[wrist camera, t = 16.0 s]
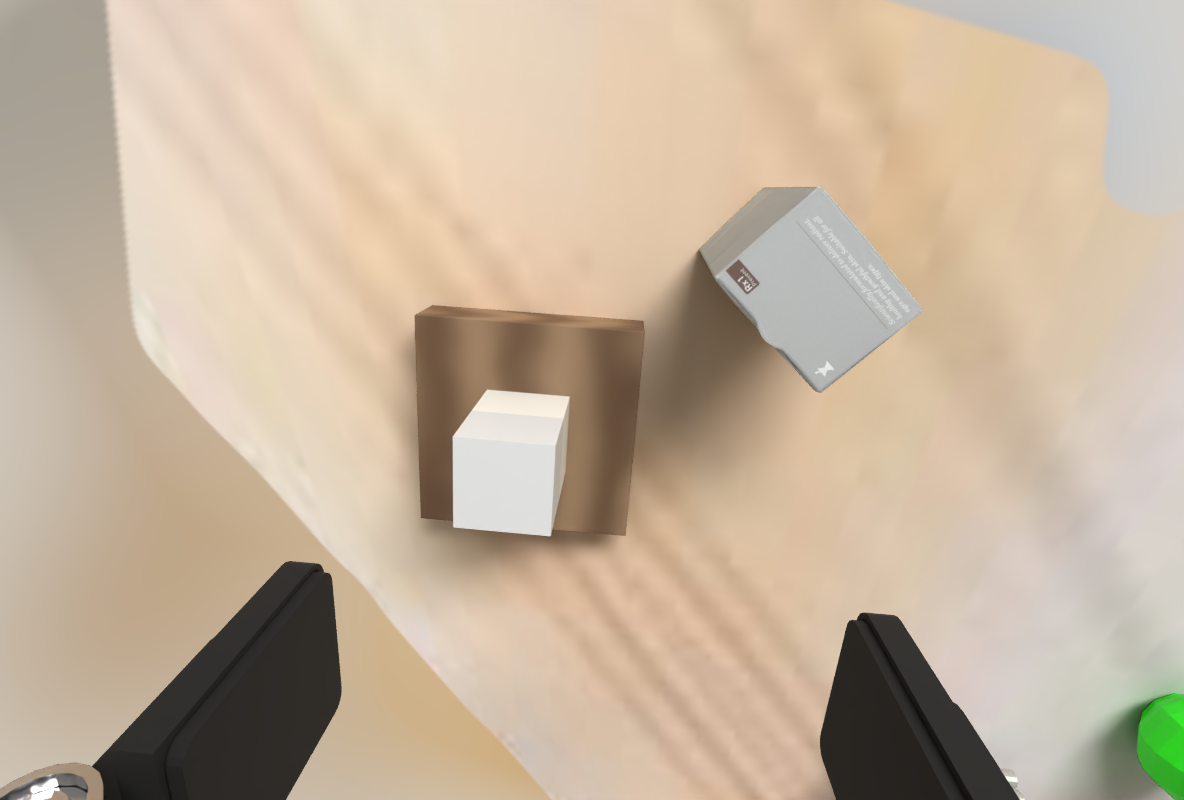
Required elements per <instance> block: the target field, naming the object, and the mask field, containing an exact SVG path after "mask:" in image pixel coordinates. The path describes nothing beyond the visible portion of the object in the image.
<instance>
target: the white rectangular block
mask: <svg viewBox="0 0 1184 800" xmlns="http://www.w3.org/2000/svg"><path fill="white" fill-rule="evenodd" d="M569 404H570V397H569V396H557V395H545V394H533V393H521V392H509V391H498V390H486V392H485V393H484V394H483V396H482V397H481V399H480V400H479V401H478V403H477V404H476V405H475V407H474V408H473V410H472V411H471V412H470V414H469V415H468V416H467V418H466V419H465V420H464V422H463V423H462V425H461V426H460V427H459V429H458V430H457V431H456V433H455V434H454V436H453V527H454V528H465V529H476V530H487V531H498V532H509V533H520V534H531V535H542V536H551V533H552V529H553V524H554V520H555V515H556V511H557V507H558V502H559V498H560V494H561V489H562V485H563V481H564V476H565V470H566V454H567V437H568V420H569Z"/></svg>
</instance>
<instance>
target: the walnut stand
mask: <svg viewBox="0 0 1184 800" xmlns="http://www.w3.org/2000/svg"><path fill="white" fill-rule="evenodd" d="M644 333H645V332H644V323H643V321H636V320H622V319H609V318H595V317H582V316H568V315H555V314H541V313H528V312H514V311H501V310H488V309H474V308H461V307H447V306H434V305H432V306H430V307H429V308H427V309H425V310H423V311H421V312H420V313H418V314H416V315H415V340H416V372H417V405H418V437H419V470H420V502H421V518H426V519H438V520H449V521H453V436H454V434H455V433H456V431H457V430H458V429H459V427H460V426H461V425H462V423H463V422H464V420H465V419H466V418H467V416H468V415H469V414H470V412H471V411H472V410H473V408H474V407H475V405H476V404H477V403H478V401H479V400H480V399H481V397H482V396H483V394H484V393H485V392H486V390H498V391H509V392H521V393H533V394H545V395H557V396H569V397H570V404H569V420H568V437H567V454H566V470H565V476H564V481H563V485H562V489H561V494H560V498H559V502H558V507H557V511H556V515H555V520H554V524H553V530H565V531H577V532H588V533H600V534H611V535H623V536H626V526H627V515H628V504H629V494H630V483H631V472H632V462H633V451H634V440H635V429H636V419H637V408H638V397H639V386H640V376H641V365H642V354H643V344H644Z"/></svg>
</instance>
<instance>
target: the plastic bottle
mask: <svg viewBox="0 0 1184 800" xmlns="http://www.w3.org/2000/svg"><path fill="white" fill-rule="evenodd" d="M1137 756H1138V758H1139V761H1140V763H1141V766H1142V768H1143V769H1144V770H1145V771H1146V772H1147V773H1148V775H1149V776H1150V777H1151V778H1152V779H1153V780H1154V781H1155V782H1156V783H1157V784H1158V785H1159V786H1160V787H1161V788H1162V789H1164V790H1165V791H1166V792H1167V793H1168V794H1169V795H1170V796H1171V797H1172V798H1173V799H1174V800H1184V695H1181V694H1171V695H1168V696H1165V697H1162V698H1159V699H1156V700H1154V701H1153V702H1152V703H1151V704H1150V705H1149V706H1148V707H1147V708H1146V709H1145V710H1144V711H1143V712H1142V713H1141V721H1140V723H1139V729H1138V740H1137Z"/></svg>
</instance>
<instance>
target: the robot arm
mask: <svg viewBox="0 0 1184 800" xmlns="http://www.w3.org/2000/svg"><path fill="white" fill-rule="evenodd" d="M339 665H340V664H339V653H338V642H337V630H336V619H335V607H334V597H333V586H332V577H331V575H330V574H329V573H324V571H323V568H322V566H321V565H320V564H315V563H303V562H293V561H289V562H285V563H284V564H283V565H282V566H281V567H280V568H279V569H278V570H277V571H276V572H275V573H274V574H273V576H271V578H270V579H269V580H268V581H267V582H266V583H265V584H264V585H263V586H262V587H261V588H260V589H259V590H258V591H257V593H256V594H255V595H254V596H253V597H252V598H251V599H250V600H249V601H248V602H247V603H246V604H245V605H244V606H243V608H242V609H241V610H240V611H239V612H238V613H237V614H236V615H235V616H234V617H233V618H232V619H231V620H230V621H229V622H228V624H227V625H226V626H225V627H224V628H223V629H222V630H221V631H220V632H219V633H218V634H217V635H216V636H215V637H214V638H213V639H212V640H210V641H209V642H208V643H207V645H206V646H205V647H204V648H203V649H202V650H201V651H200V652H199V653H198V654H197V655H196V656H195V657H194V658H193V659H192V660H191V662H190V663H189V664H188V665H187V666H186V667H185V668H184V669H183V670H182V671H181V672H180V673H179V674H178V675H177V676H176V678H175V679H174V680H173V681H172V682H171V683H170V684H169V685H168V686H167V687H166V688H165V689H164V690H163V691H162V692H161V693H160V695H159V696H158V697H157V698H156V699H155V700H154V701H153V702H152V703H151V704H150V705H149V706H148V707H147V708H146V710H144V712H143V713H142V714H141V715H140V716H139V717H138V718H137V719H136V720H135V721H134V722H133V723H132V724H131V725H130V726H129V728H128V729H127V730H126V731H125V732H124V733H123V734H122V735H121V736H120V737H119V738H118V739H117V740H116V741H115V742H114V743H113V745H112V746H111V747H110V748H109V749H108V750H107V751H106V752H105V753H104V754H103V755H102V756H101V757H100V758H99V759H98V761H97V762H96V763H95V764H94V765H93V766H90V765H85V764H80V763H67V764H57V765H53V766H49V767H46V768H43V769H39V770H36V771H33V772H31V773H29V774H27V775H25V776H23V777H20V778H18V779H16V780H14V781H12V782H10V783H9V784H7V785H6V786H4V787H2V788H1V789H0V800H286V799H287V797H288V795H289V793H290V792H291V790H292V788H293V786H294V784H295V783H296V781H297V779H298V777H299V776H300V774H301V772H302V770H303V769H304V767H305V765H306V763H307V762H308V760H309V758H310V756H311V754H312V753H313V751H314V749H315V747H316V746H317V744H318V742H319V740H320V738H321V737H322V735H323V733H324V732H325V730H326V728H327V726H328V725H329V723H330V721H331V719H332V717H333V716H334V714H335V712H336V710H337V708H338V705H339V701H340V698H341V677H340V666H339ZM820 749H821V755H822V759H823V762H824V765H825V768H826V771H827V774H828V777H829V780H830V783H831V786H832V788H833V791H834V794H835V797H836V800H1024V798H1023V796H1022V794H1021V792H1020V791H1019V790H1018V789H1015V788H1016V787H1017V784H1018V781H1017V777H1016V775H1015V773H1014V772H1013V771H1012V770H1004V769H1000V768H999V766H998V765H997V763H996V762H995V760H994V759H993V757H992V756H991V754H990V753H989V751H988V749H987V748H986V746H985V745H984V743H983V742H982V740H981V739H980V737H979V735H978V734H977V732H976V731H975V729H974V728H973V726H972V725H971V723H970V722H969V720H968V718H967V717H966V715H965V714H964V712H963V711H962V710H961V709H960V708H959V706H958V705H957V704H955V703H954V702H952V700H951V699H950V697H949V695H948V694H947V692H946V691H945V689H944V688H943V686H942V685H941V683H940V681H939V680H938V678H937V677H936V675H935V674H934V672H933V670H932V669H931V667H930V666H929V664H928V663H927V661H926V659H925V658H924V656H923V655H922V653H921V652H920V650H919V648H918V647H917V645H916V644H915V642H914V641H913V639H912V637H911V636H910V634H909V633H908V631H907V630H906V628H905V627H904V625H903V623H902V622H901V620H900V619H899V618H898V617H897V616H894V615H885V614H874V613H861V614H860V615H859V616H858V618H857V620H851V621H849V622H848V624H847V627H846V631H845V636H844V640H843V644H842V648H841V652H840V656H839V660H838V665H837V669H836V673H835V677H834V681H833V685H832V689H831V694H830V698H829V702H828V706H827V710H826V714H825V718H824V723H823V727H822V731H821V736H820Z"/></svg>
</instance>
